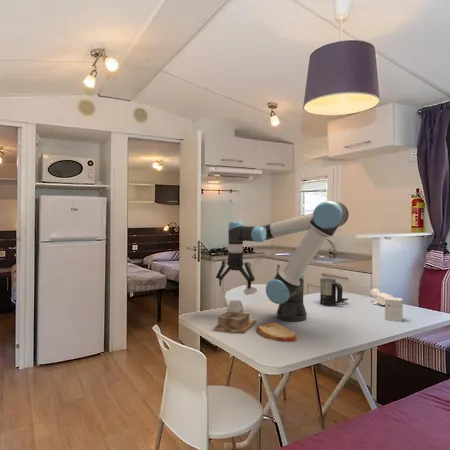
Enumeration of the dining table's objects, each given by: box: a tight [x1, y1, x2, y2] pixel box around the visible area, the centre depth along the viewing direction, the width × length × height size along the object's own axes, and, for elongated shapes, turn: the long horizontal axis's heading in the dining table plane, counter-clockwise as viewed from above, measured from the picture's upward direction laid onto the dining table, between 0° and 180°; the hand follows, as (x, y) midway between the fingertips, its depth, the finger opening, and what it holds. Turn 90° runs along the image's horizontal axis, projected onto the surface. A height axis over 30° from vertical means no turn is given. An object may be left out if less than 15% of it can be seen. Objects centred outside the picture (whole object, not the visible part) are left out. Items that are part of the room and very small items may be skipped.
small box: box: [384, 297, 404, 322], centre depth 186 cm, size 8×6×10 cm
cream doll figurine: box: [369, 288, 395, 306], centre depth 217 cm, size 8×8×15 cm
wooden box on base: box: [214, 311, 257, 334], centre depth 175 cm, size 14×18×6 cm
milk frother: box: [319, 277, 349, 307], centre depth 218 cm, size 14×16×15 cm
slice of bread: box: [256, 322, 298, 343], centre depth 163 cm, size 18×18×4 cm
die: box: [226, 299, 245, 313], centre depth 191 cm, size 8×9×10 cm
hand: (234, 293), depth 191 cm, fingers open, 13 cm apart
